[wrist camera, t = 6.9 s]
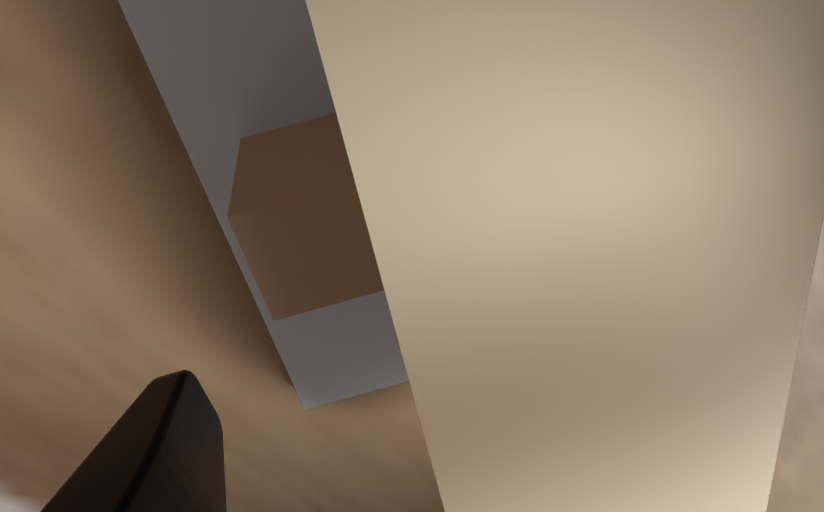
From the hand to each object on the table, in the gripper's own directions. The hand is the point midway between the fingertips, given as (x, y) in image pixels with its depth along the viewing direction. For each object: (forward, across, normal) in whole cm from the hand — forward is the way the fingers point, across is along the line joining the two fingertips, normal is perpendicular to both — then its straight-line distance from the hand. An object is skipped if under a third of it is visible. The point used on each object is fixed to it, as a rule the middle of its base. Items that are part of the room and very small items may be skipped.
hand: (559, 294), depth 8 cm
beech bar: (+2, 0, 0) cm, 3 cm away
